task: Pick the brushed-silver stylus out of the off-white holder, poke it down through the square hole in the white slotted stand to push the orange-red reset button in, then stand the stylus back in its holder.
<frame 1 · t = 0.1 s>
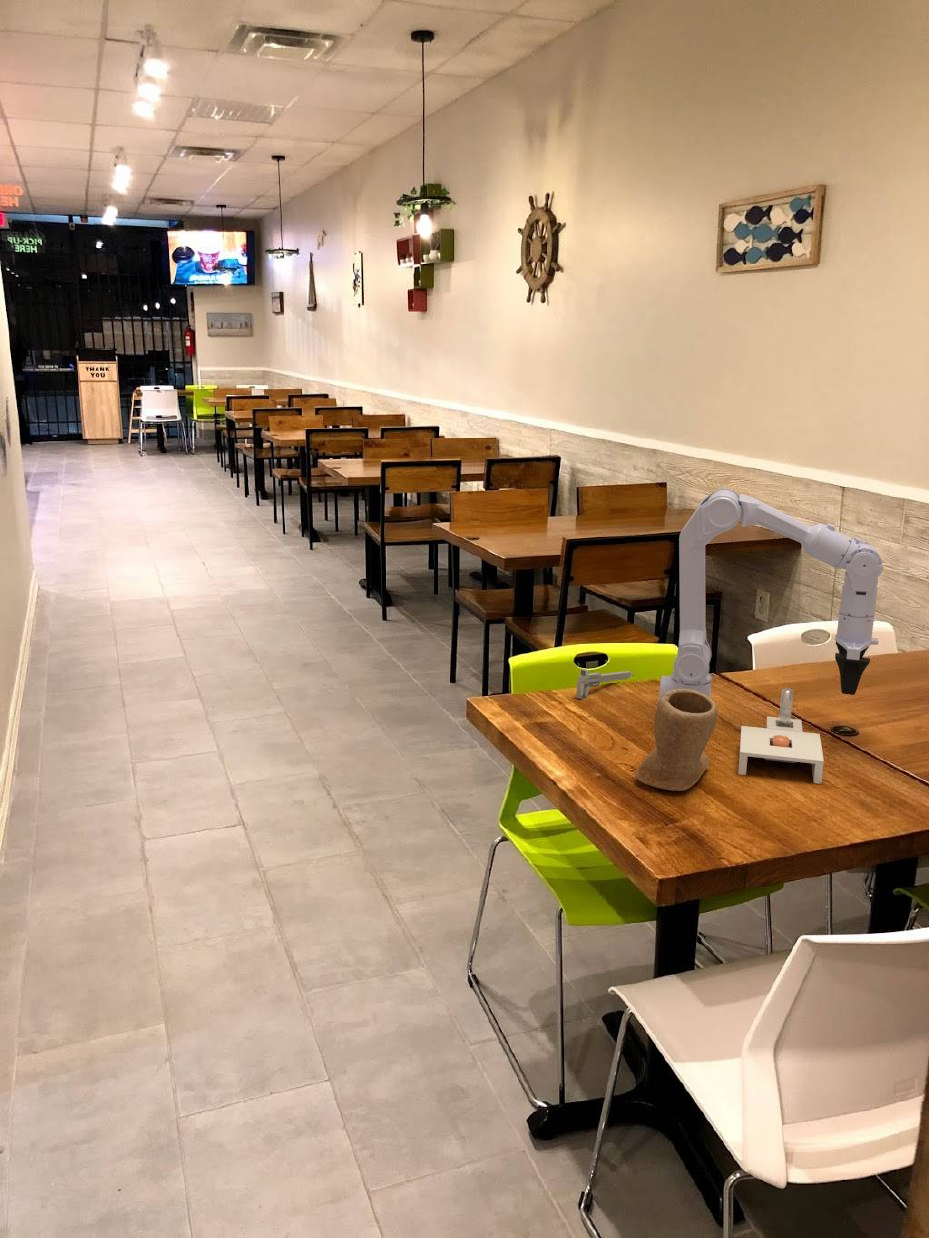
hand: (848, 686, 172), 10 cm above the table, tool pointing down, fingers open, 7 cm apart
stylus: (785, 713, 174), in the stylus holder
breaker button: (780, 747, 163), point 3 cm above the table, slide at 0.0 cm
caliper: (606, 689, 202), on the table
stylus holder: (783, 736, 175), on the table
white slotted stand: (778, 764, 164), on the table
stone cup: (678, 778, 159), on the table
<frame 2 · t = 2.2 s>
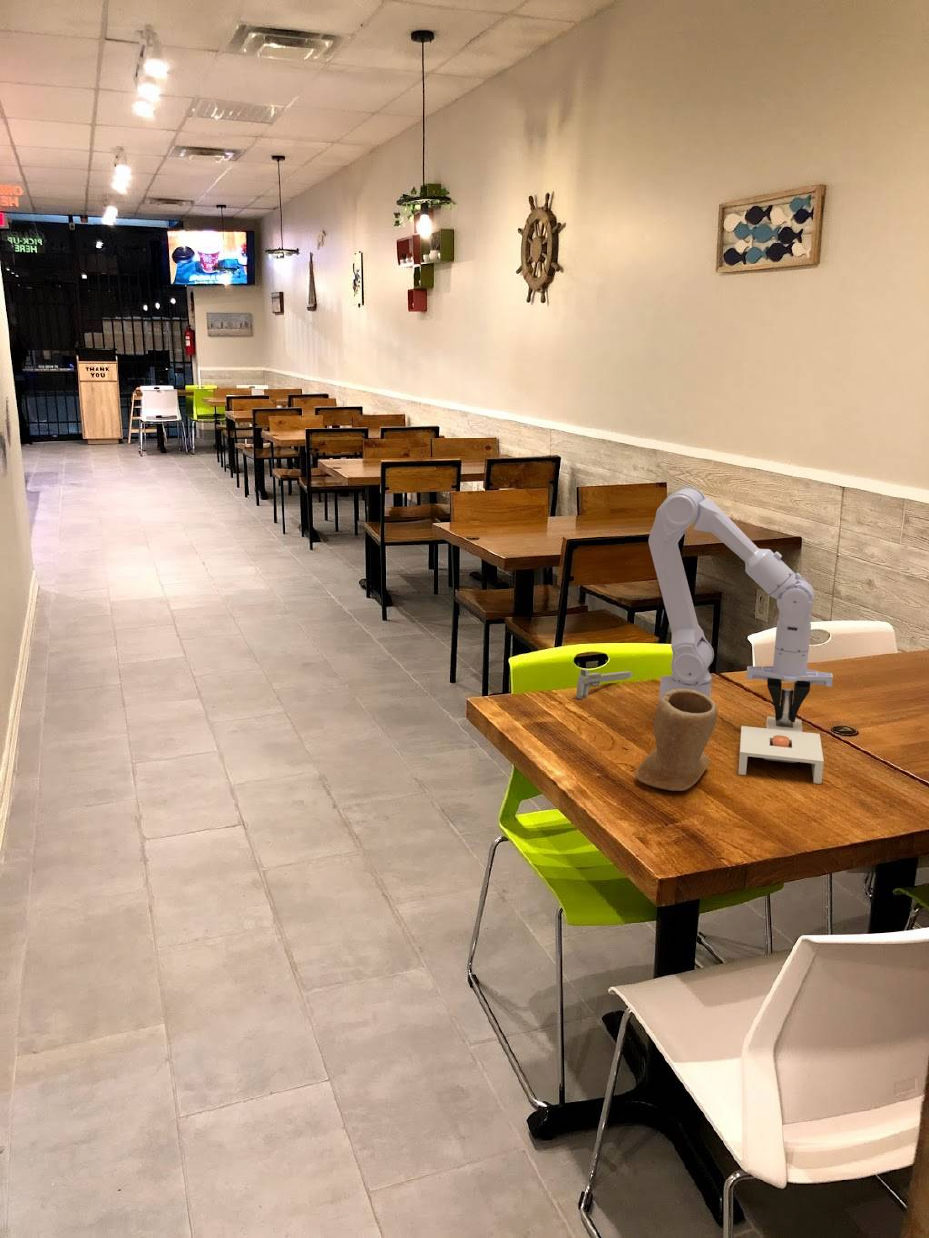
hand: (784, 719, 174), 3 cm above the table, tool pointing down, fingers closed on stylus, 2 cm apart
stylus: (785, 713, 174), in the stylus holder, touching gripper
everything else where it was.
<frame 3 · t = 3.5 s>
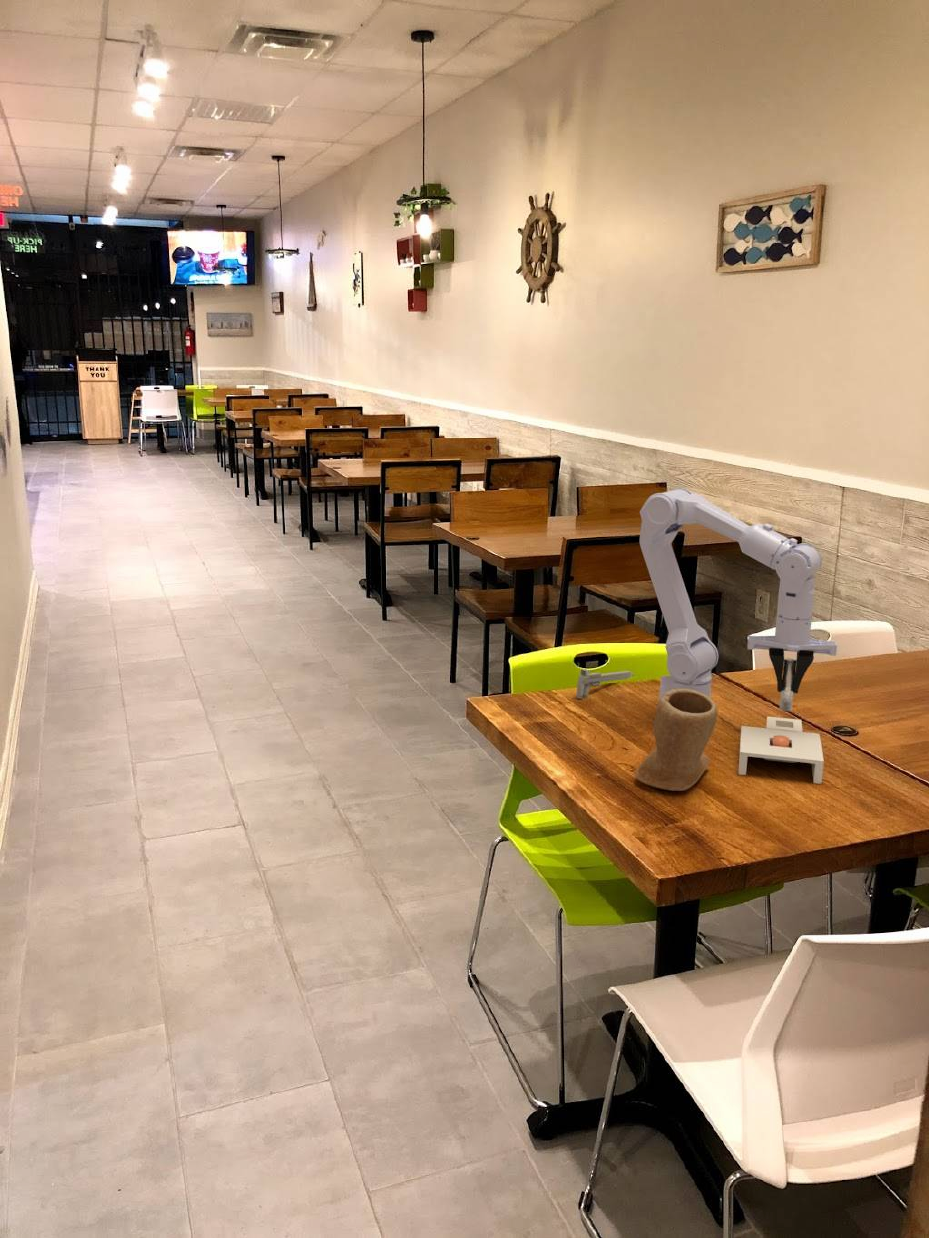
hand: (787, 690, 168), 10 cm above the table, tool pointing down, fingers closed on stylus
stylus: (787, 684, 168), point 12 cm above the table, touching gripper
everything else where it was.
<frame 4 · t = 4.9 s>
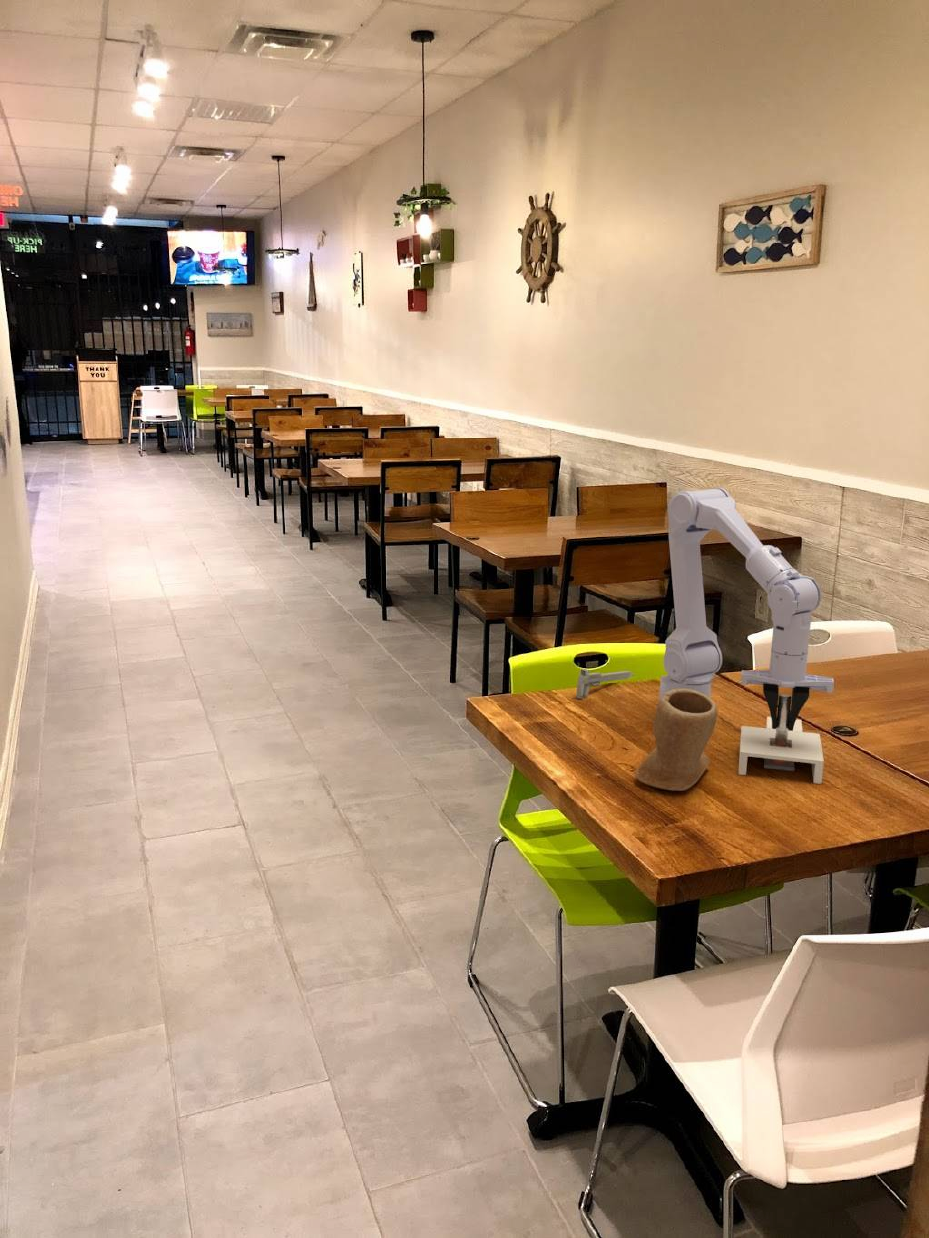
hand: (782, 727, 162), 7 cm above the table, tool pointing down, fingers closed on stylus, 2 cm apart
stylus: (782, 721, 161), point 8 cm above the table, touching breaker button, gripper
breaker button: (779, 755, 163), point 2 cm above the table, slide at 1.5 cm, touching stylus
everything else where it was.
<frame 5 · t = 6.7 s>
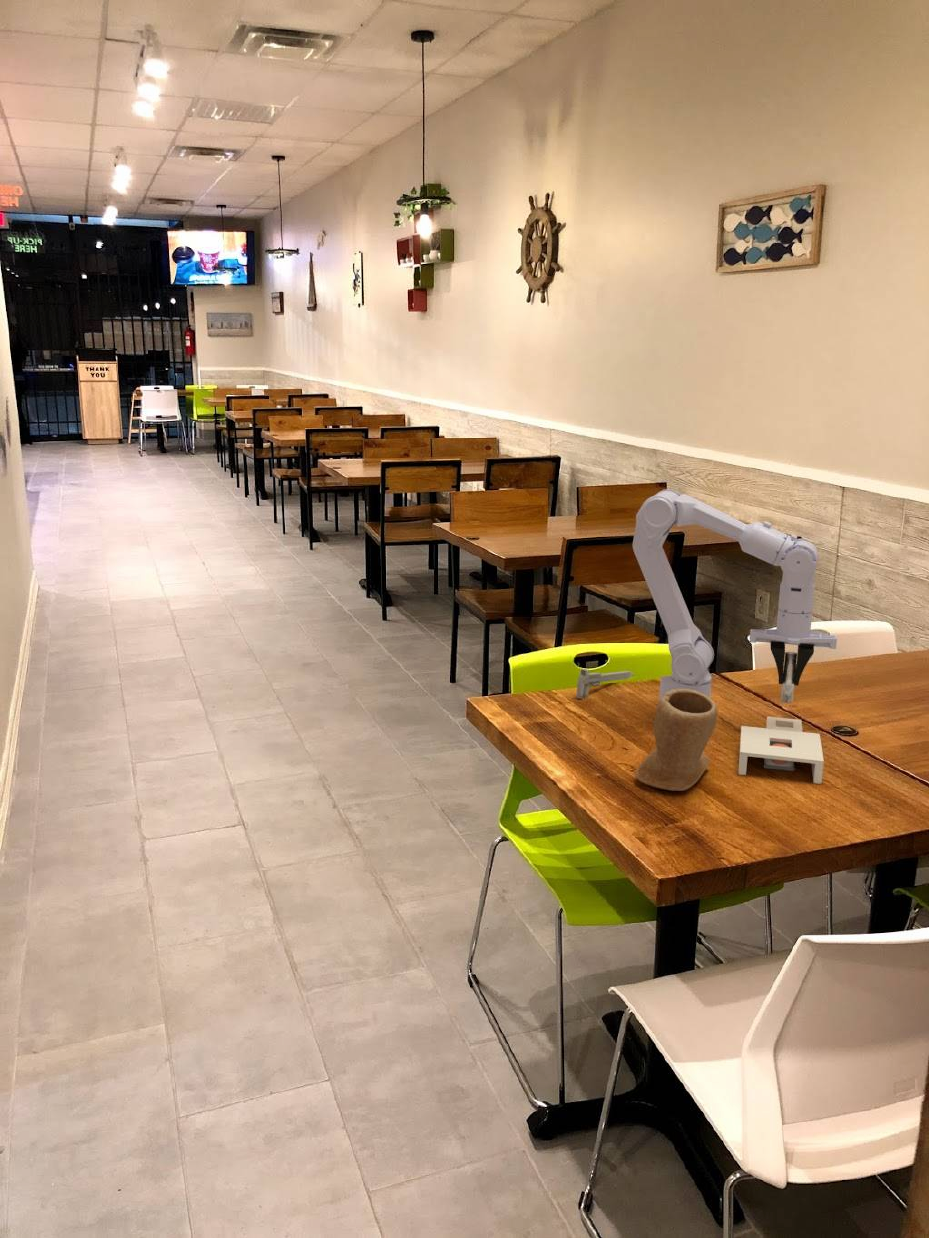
hand: (788, 683, 172), 10 cm above the table, tool pointing down, fingers closed on stylus
stylus: (788, 677, 172), point 12 cm above the table, touching gripper
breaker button: (779, 755, 163), point 2 cm above the table, slide at 1.5 cm
everything else where it was.
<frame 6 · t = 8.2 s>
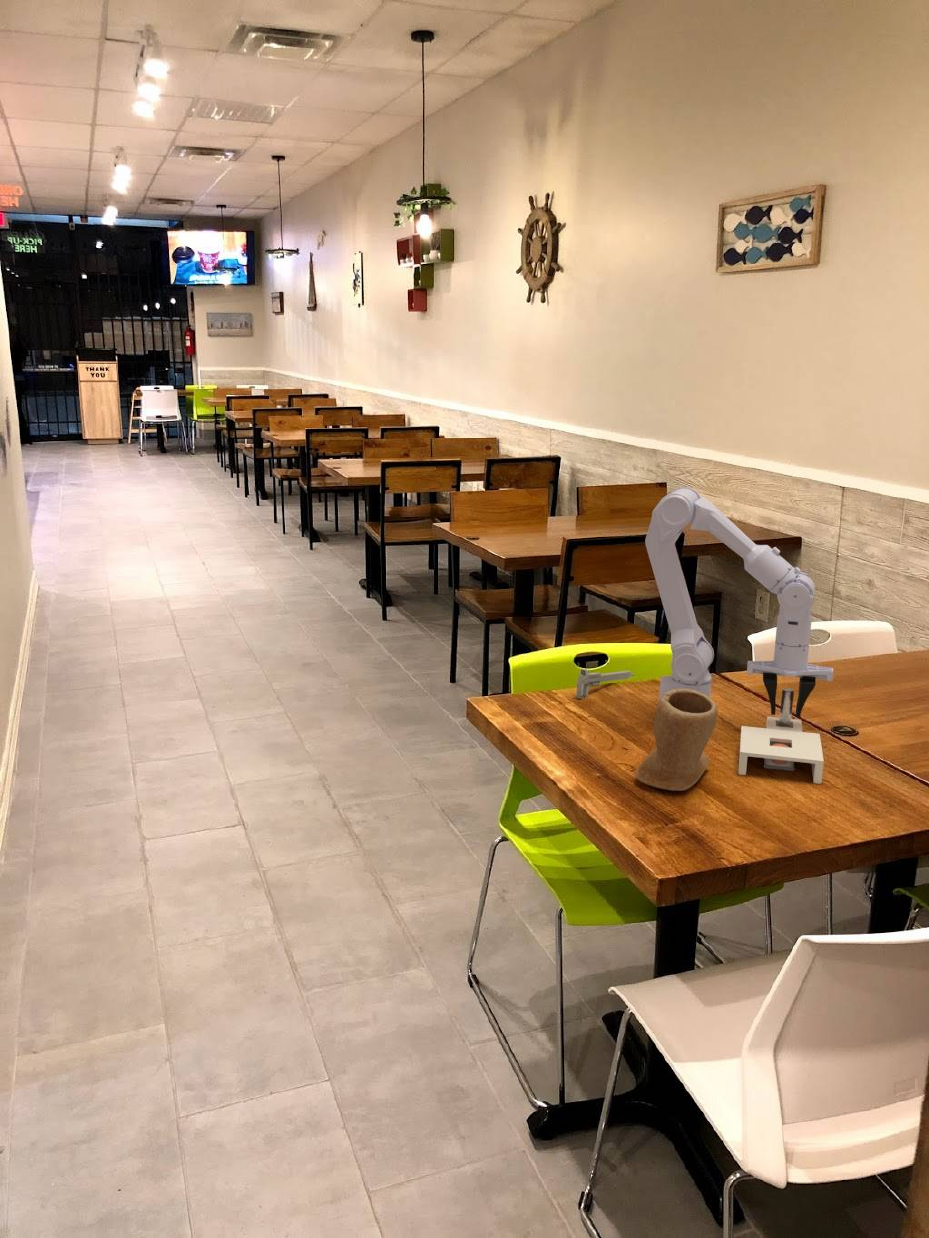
hand: (785, 714, 174), 4 cm above the table, tool pointing down, fingers open, 4 cm apart
stylus: (785, 713, 174), in the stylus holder
everything else where it was.
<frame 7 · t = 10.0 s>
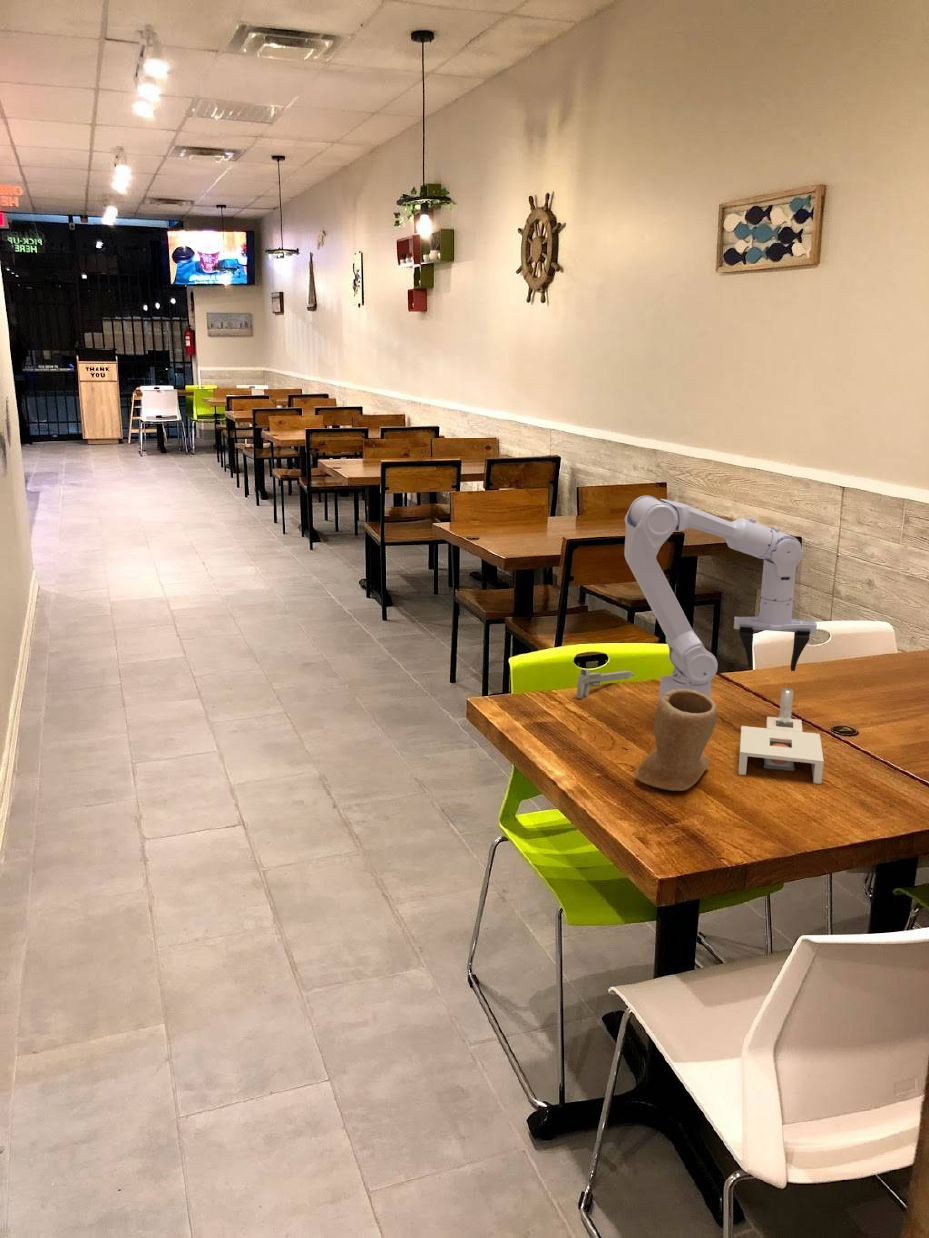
hand: (771, 667, 181), 10 cm above the table, tool pointing down, fingers open, 7 cm apart
nothing on the table moved.
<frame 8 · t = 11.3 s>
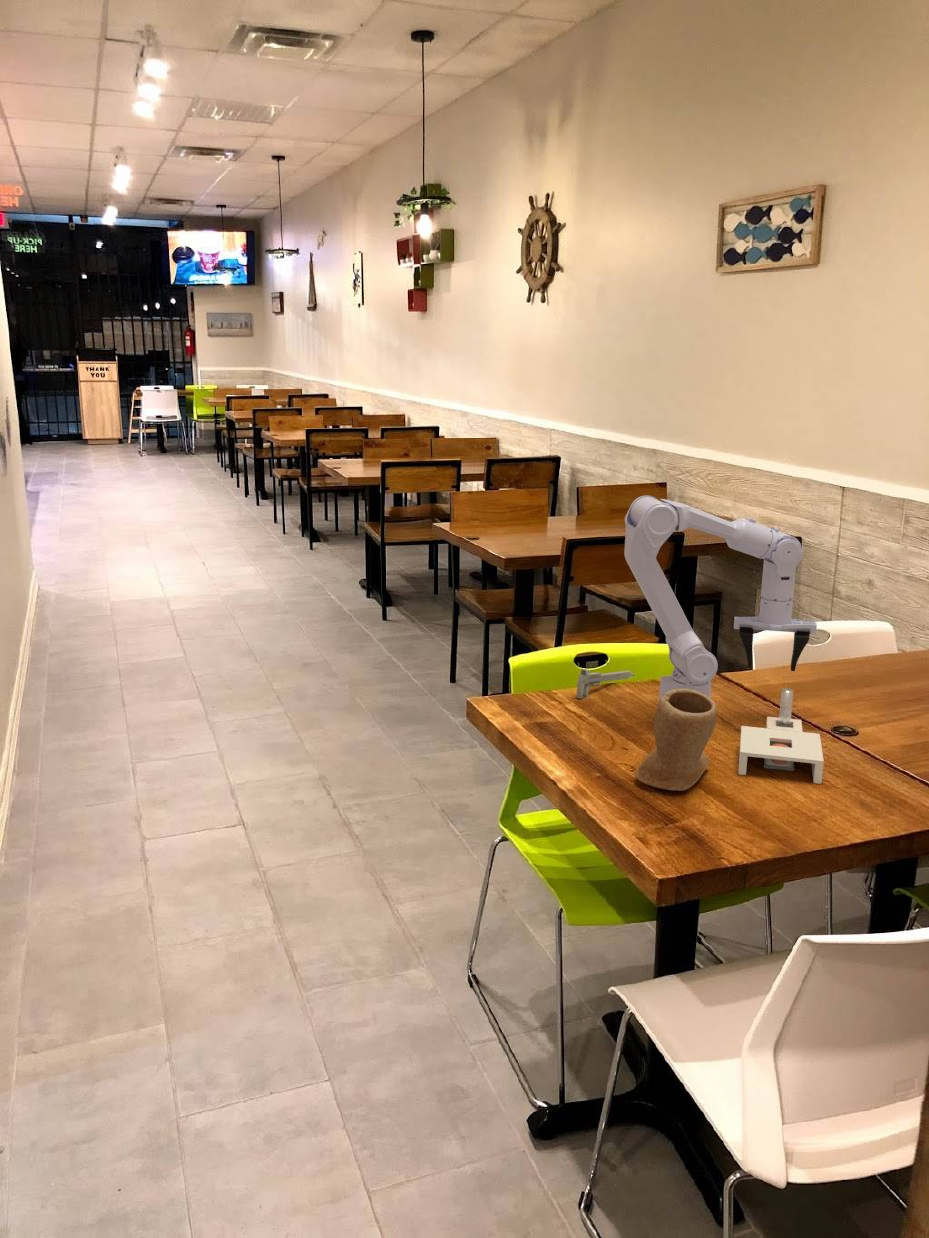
hand: (771, 667, 181), 10 cm above the table, tool pointing down, fingers open, 7 cm apart
nothing on the table moved.
at the end: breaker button slide at 1.5 cm; stylus 0.0 cm from the target spot, resting in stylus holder; stylus tilted 0° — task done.
